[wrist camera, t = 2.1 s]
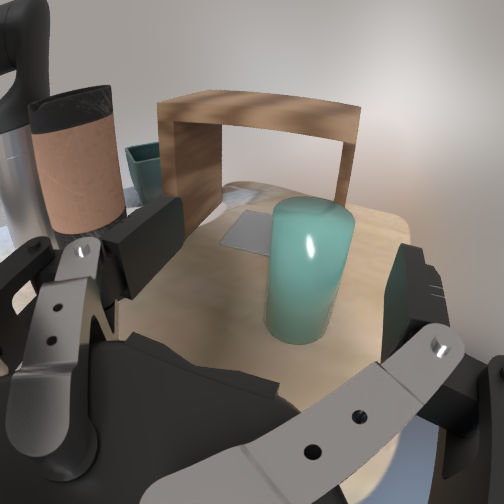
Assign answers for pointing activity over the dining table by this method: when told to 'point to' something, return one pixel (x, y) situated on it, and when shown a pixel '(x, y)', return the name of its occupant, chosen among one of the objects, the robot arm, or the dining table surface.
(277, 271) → the teal glossy cylinder
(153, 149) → the flower pot
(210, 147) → the brown wooden shelf stand
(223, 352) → the dining table surface
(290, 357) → the dining table surface
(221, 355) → the dining table surface
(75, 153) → the travel mug
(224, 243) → the mat
